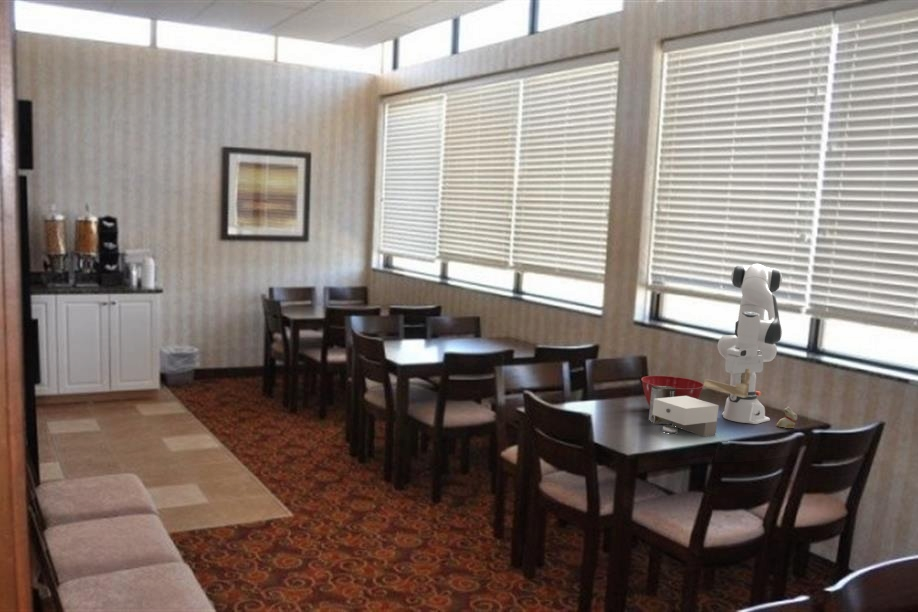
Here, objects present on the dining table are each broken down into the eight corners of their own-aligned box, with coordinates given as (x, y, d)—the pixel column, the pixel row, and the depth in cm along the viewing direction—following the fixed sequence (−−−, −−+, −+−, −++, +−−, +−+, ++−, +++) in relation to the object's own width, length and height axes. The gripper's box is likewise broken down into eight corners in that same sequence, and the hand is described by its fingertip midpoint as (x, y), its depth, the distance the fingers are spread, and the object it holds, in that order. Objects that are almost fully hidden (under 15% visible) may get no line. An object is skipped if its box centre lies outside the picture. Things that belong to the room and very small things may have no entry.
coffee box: (666, 420, 368) (670, 385, 367) (673, 424, 362) (676, 389, 360) (647, 420, 367) (651, 385, 365) (654, 424, 360) (657, 388, 358)
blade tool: (707, 386, 360) (710, 359, 358) (747, 397, 342) (750, 369, 340) (702, 387, 358) (705, 360, 357) (742, 397, 340) (746, 369, 339)
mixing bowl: (637, 416, 372) (640, 383, 370) (639, 403, 400) (642, 372, 398) (701, 424, 366) (705, 390, 364) (698, 410, 393) (702, 379, 391)
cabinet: (683, 424, 364) (686, 395, 362) (715, 435, 349) (718, 405, 347) (649, 428, 352) (652, 398, 351) (681, 439, 337) (684, 408, 336)
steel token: (669, 430, 352) (670, 424, 352) (680, 434, 347) (680, 428, 347) (659, 431, 349) (660, 425, 348) (670, 435, 344) (670, 429, 343)
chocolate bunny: (792, 430, 366) (795, 408, 365) (775, 426, 371) (777, 405, 370) (796, 428, 371) (799, 407, 369) (779, 424, 376) (781, 403, 374)
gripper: (756, 348, 349) (752, 380, 350) (724, 349, 338) (720, 382, 339) (768, 351, 343) (765, 383, 345) (736, 352, 333) (732, 385, 334)
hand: (742, 383), depth 342 cm, fingers closed on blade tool, 3 cm apart
